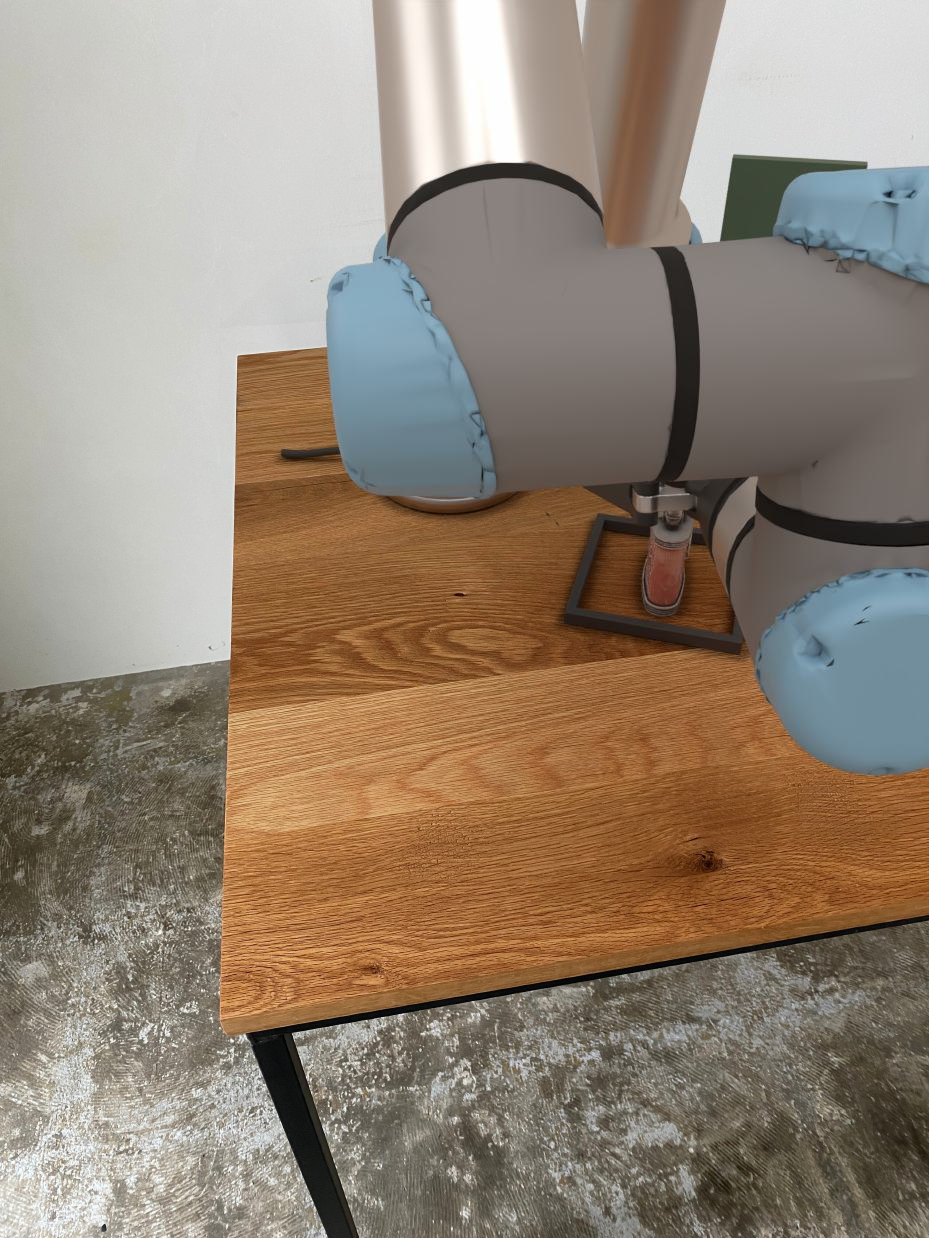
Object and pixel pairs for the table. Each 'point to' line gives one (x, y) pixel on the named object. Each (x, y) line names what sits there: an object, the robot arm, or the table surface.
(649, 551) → the lighter
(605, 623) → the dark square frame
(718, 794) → the table surface
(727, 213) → the chair
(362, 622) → the table surface
